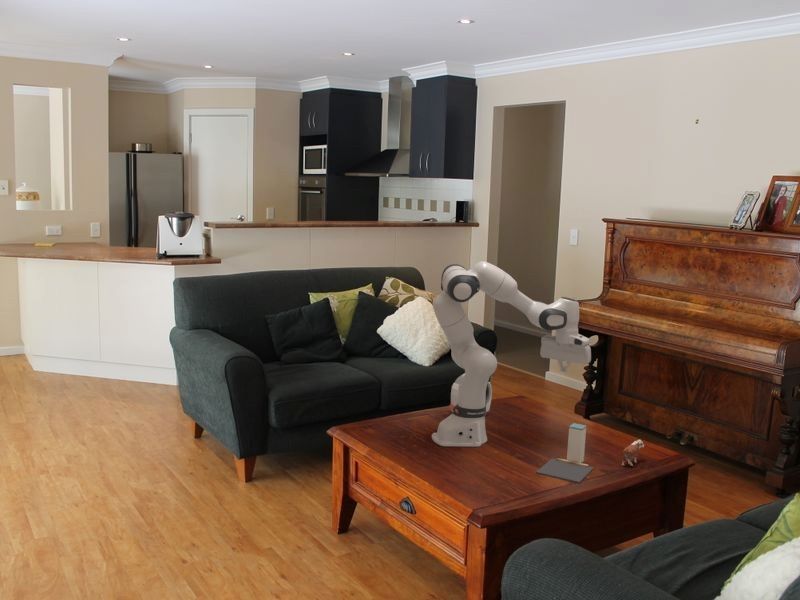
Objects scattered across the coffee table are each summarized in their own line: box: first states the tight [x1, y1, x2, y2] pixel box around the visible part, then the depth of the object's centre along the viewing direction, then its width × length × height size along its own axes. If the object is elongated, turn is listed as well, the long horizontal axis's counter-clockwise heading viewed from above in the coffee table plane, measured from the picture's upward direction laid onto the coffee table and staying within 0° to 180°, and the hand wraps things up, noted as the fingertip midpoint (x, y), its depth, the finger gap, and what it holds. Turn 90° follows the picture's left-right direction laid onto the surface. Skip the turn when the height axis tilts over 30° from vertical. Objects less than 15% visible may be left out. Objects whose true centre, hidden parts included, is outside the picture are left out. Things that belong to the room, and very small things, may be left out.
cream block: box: [566, 423, 587, 463], centre depth 291 cm, size 5×5×14 cm
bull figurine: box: [621, 439, 645, 467], centre depth 292 cm, size 4×13×8 cm, turn 137°
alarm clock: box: [450, 372, 493, 413], centre depth 342 cm, size 18×8×20 cm, turn 119°
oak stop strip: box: [555, 457, 589, 467], centre depth 289 cm, size 12×2×1 cm, turn 59°
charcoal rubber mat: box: [535, 458, 595, 484], centre depth 282 cm, size 16×17×1 cm
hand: (564, 371), depth 311 cm, fingers closed
